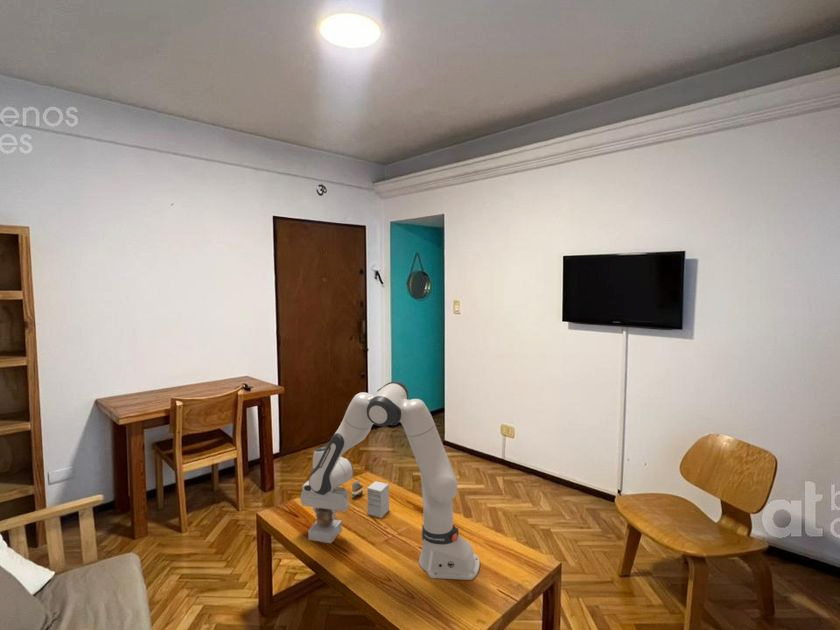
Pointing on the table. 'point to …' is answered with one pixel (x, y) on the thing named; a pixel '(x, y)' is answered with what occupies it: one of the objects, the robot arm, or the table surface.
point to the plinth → (325, 531)
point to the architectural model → (357, 488)
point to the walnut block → (324, 517)
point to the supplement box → (378, 499)
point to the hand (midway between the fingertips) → (325, 517)
